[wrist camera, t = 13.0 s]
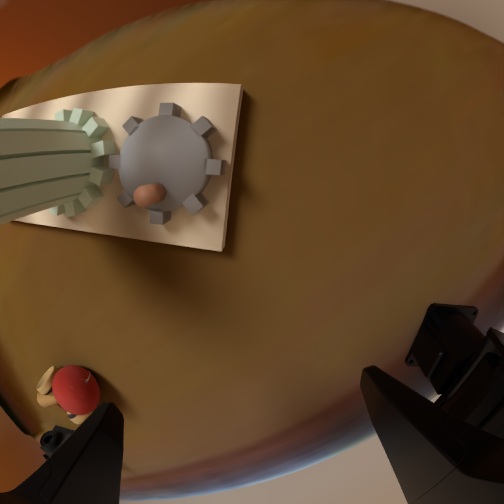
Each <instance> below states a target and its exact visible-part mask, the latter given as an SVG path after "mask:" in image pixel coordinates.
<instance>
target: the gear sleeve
mask: <svg viewBox="0 0 504 504" xmlns="http://www.w3.org/2000/svg"><path fill="white" fill-rule="evenodd" d="M93 115H94V112H93V111H89V110H85V109H79V108H73V111H72V110H65V109H63V110H61V111H59V112H57V113H56V114H55V120H43V119H22V118H0V225H2V224H4V223H7V222H10V221H13V220H16V219H18V218H21V217H24V216H27V215H30V214H33V213H36V212H40V211H43V210H46V209H49V212H51V213H52V214H54V215H56V216H58V215H61V214H64V213H66V217H70V216H74V215H77V214H80V213H83V212H86V211H87V209H86V208H89V207H92V206H95V205H97V204H98V203H99V202H100V200H101V199H102V198H103V197H104V196H103V194H102V193H101V191H100V190H99V188H98V187H97V185H99V186H100V185H105V184H110V183H111V181H112V177H113V174H114V170H113V169H108V167H105V166H103V160H104V158H105V157H108V156H109V155H115V154H116V151H115V142H114V141H110V140H102V141H101V140H100V138H101V137H102V135H103V134H104V133H105V132H106V131H107V130H108V129H109V128H110V127H109V126H108V124H107V123H106V121H105V120H104V118H98V117H93Z"/></svg>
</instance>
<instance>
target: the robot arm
mask: <svg viewBox="0 0 504 504" xmlns="http://www.w3.org/2000/svg"><path fill="white" fill-rule="evenodd" d="M434 308H435V309H434ZM433 309H434V310H433ZM432 310H433V311H432ZM477 314H478V309H477V308H476V307H474V306H461V305H449V304H437V303H433V304H431V305H430V306H429V308H428V310H427V313H426V315H425V318H424V320H423V322H422V325H421V327H420V329H419V332H418V334H417V336H416V338H415V341H414V343H413V345H412V347H411V349H410V351H409V353H408V355H407V357H406V359H405V363H406V364H407V366H420V368H421V370H422V372H423V373H424V375H425V377H426V379H429V380H430V382H431V383H432V385H433V387H434V389H435V391H436V393H437V394H438V395H440V394H442V395H441V396H440V397H439V398H438V399H437V400H436V401H435V402H434V403H433V402H431V401H430V400H428V399H427V398H425V397H423V396H422V395H420V394H419V393H417V392H415V391H414V390H412V389H411V388H409V387H407V386H406V385H404V384H403V383H401V382H400V381H398V380H396V379H395V378H393V377H392V376H390V375H389V374H387V373H386V372H384V371H382V370H381V369H379V368H378V367H376V366H374V365H373V366H369V367H366V368H364V369H363V371H362V376H361V381H360V387H361V390H362V393H363V396H364V399H365V402H366V406H367V409H368V412H369V415H370V418H371V421H372V424H373V426H374V428H375V430H376V432H377V435H378V437H379V439H380V441H381V443H382V446H383V448H384V450H385V452H386V454H387V457H388V459H389V461H390V463H391V466H392V468H393V470H394V472H395V475H396V477H397V479H398V482H399V484H400V486H401V489H402V491H403V493H404V496H405V498H406V500H407V503H408V504H504V333H502V332H500V331H498V330H496V329H494V328H491V327H490V328H489V330H488V331H487V333H486V334H487V335H486V336H484V335H483V334H482V333H481V332H480V331H479V329H478V328H477V327H476V326H475V325H474V324H473V323H474V321H475V319H476V317H477ZM410 360H411V361H410ZM123 434H124V417H123V415H122V413H121V412H120V410H119V409H118V408H117V407H116V405H115V404H114V403H113V402H102V403H101V404H100V405H99V406H98V407H97V408H96V409H95V410H94V412H93V413H92V414H91V415H90V416H89V417H88V418H87V419H86V420H85V421H84V422H83V423H82V424H81V425H80V426H79V427H78V428H77V429H76V430H75V431H74V432H73V433H72V434H71V436H70V437H69V438H68V439H67V440H66V441H65V442H64V443H63V444H62V445H61V446H60V447H59V448H58V449H57V450H56V451H55V452H54V453H53V454H52V455H51V457H50V458H48V459H47V461H46V462H45V463H44V464H43V465H42V466H41V467H40V468H39V469H38V470H36V471H35V472H34V473H33V474H32V475H31V476H30V477H28V478H27V479H26V480H25V481H23V482H22V483H21V484H20V485H19V486H17V487H16V488H15V489H13V490H11V491H9V492H4V493H0V504H119V496H120V482H121V470H122V460H123Z"/></svg>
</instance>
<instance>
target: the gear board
mask: <svg viewBox="0 0 504 504" xmlns="http://www.w3.org/2000/svg"><path fill="white" fill-rule="evenodd" d="M242 95H243V88H242V86H241V85H240V84H221V83H171V84H153V85H140V86H130V87H121V88H113V89H106V90H100V91H94V92H88V93H82V94H77V95H73V96H68V97H63V98H59V99H55V100H51V101H47V102H43V103H40V104H36V105H33V106H29V107H26V108H23V109H20V110H17V111H14V112H11V113H8V114H5V115H3V116H2V118H22V119H43V120H55V114H56V113H57V112H59V111H61V110H63V109H65V110H72V111H73V108H79V109H85V110H89V111H93V112H94V115H93V117H98V118H104V120H105V121H106V123H107V124H108V126H109V127H110V128H109V129H108V130H107V131H106V132H105V133H104V134H103V135H102V137H101V138H100V140H101V141H102V140H110V141H114V142H115V151H116V154H115V155H109V156H108V157H105V158H104V160H103V166H105V167H108V169H113V170H114V174H113V177H112V181H111V183H110V184H105V185H100V186H99V185H97V187H98V188H99V190H100V191H101V193H102V194H103V196H104V197H103V198H102V199H101V200H100V202H99V203H98V204H97V205H95V206H92V207H89V208H86V209H87V211H86V212H83V213H80V214H77V215H74V216H70V217H66V213H64V214H61V215H58V216H56V215H54V214H52V213H51V212H49V209H46V210H43V211H40V212H36V213H33V214H30V215H27V216H24V217H21V218H18V219H16V220H14V221H21V222H27V223H34V224H40V225H47V226H53V227H60V228H66V229H73V230H79V231H86V232H92V233H99V234H106V235H112V236H119V237H126V238H132V239H139V240H146V241H152V242H159V243H166V244H173V245H179V246H186V247H193V248H200V249H207V250H213V251H220V252H222V250H223V248H224V247H225V238H226V228H227V219H228V209H229V200H230V191H231V182H232V173H233V164H234V156H235V148H236V140H237V132H238V124H239V117H240V109H241V102H242Z"/></svg>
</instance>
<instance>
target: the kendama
mask: <svg viewBox="0 0 504 504" xmlns="http://www.w3.org/2000/svg"><path fill="white" fill-rule="evenodd" d="M37 390H38V391H39V392H38V394H37V401H38V403H39V404H40V405H41V406H42V407H44V408H49V407H51V406H53V405H56V404H59V405H60V406H61V407H62V408H63V409H64V410H66V411H67V413H68V417H69V419H70V420H71V421H73V422H74V423H75V424H80V423H82V422H83V421H84V420H85V419H86V418H87V417H88V415H89V414H90V413H91V412H92V411H93V410H94V409H95V408H96V407H97V405H98V403H99V400H100V388H99V385H98V383H97V381H96V379H95V377H94V376H93V375H92V374H91V372H90V371H88V370H86V369H84V368H82V367H80V366H76V365H69V366H65V367H63V368H61V369H60V370H59V369H58V368H56V367H55V366H52V367H51V368H49V369H48V370H47V372H46V373H45V374H44V375H43V377H42V378H41V380H40V381H39V383H38V386H37Z"/></svg>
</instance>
